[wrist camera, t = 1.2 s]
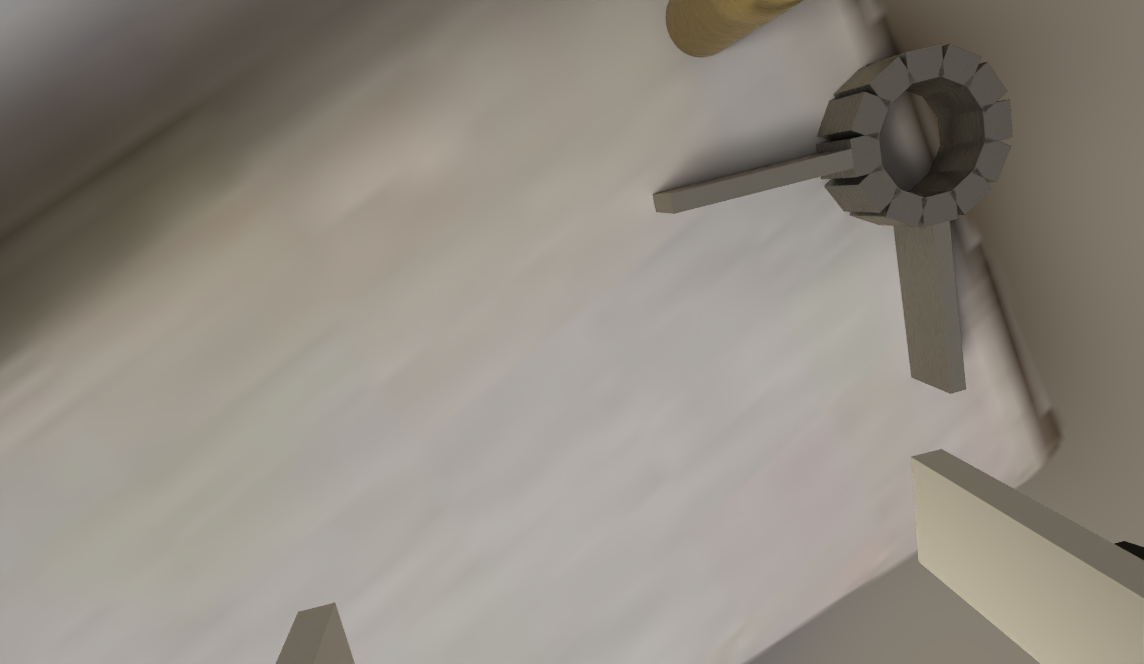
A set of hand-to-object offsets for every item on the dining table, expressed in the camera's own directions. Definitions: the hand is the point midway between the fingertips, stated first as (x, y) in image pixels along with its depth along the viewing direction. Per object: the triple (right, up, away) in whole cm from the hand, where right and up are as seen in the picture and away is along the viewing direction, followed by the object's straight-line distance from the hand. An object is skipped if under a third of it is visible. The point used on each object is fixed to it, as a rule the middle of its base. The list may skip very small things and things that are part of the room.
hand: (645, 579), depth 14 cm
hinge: (+14, +11, +24) cm, 30 cm away
